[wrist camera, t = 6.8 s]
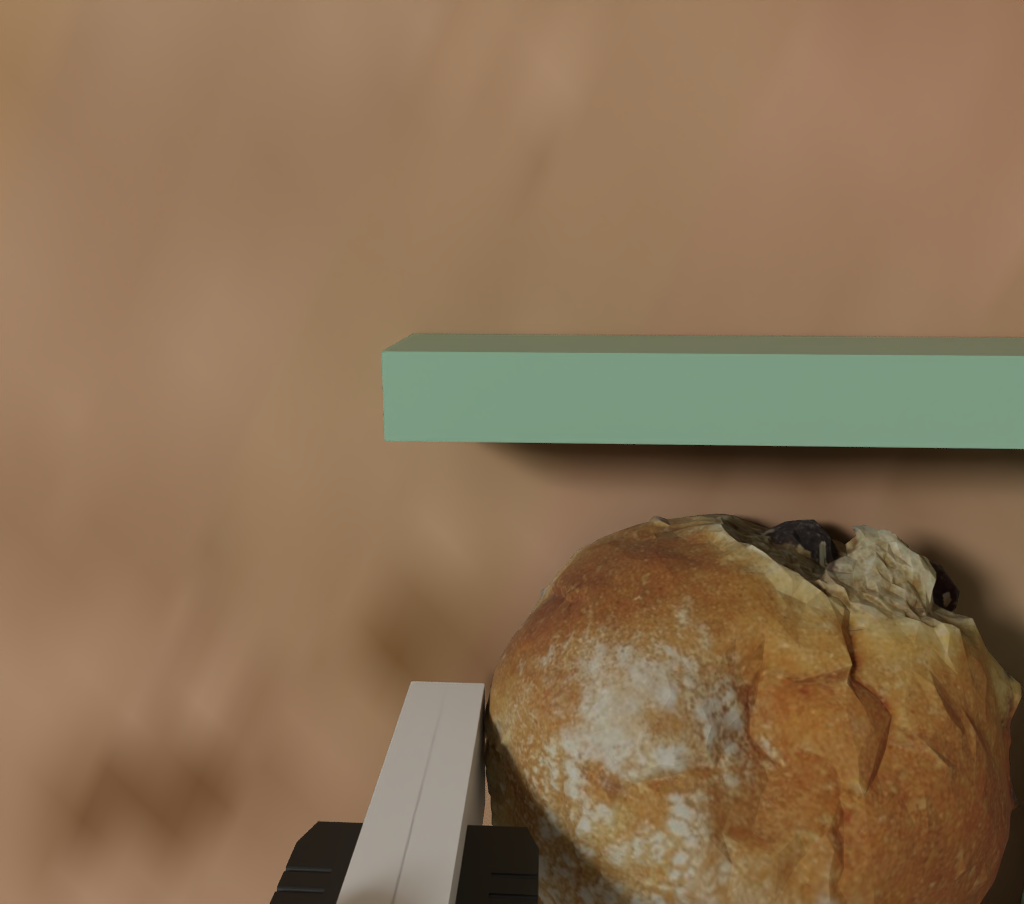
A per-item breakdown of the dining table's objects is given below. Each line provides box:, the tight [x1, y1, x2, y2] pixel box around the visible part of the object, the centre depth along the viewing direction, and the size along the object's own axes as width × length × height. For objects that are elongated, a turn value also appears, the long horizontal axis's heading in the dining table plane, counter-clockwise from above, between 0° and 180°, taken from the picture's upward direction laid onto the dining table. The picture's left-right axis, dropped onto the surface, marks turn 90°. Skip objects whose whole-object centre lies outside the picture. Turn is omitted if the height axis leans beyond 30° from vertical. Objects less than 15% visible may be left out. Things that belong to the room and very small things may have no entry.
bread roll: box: [483, 514, 1021, 904], centre depth 16 cm, size 10×10×8 cm
